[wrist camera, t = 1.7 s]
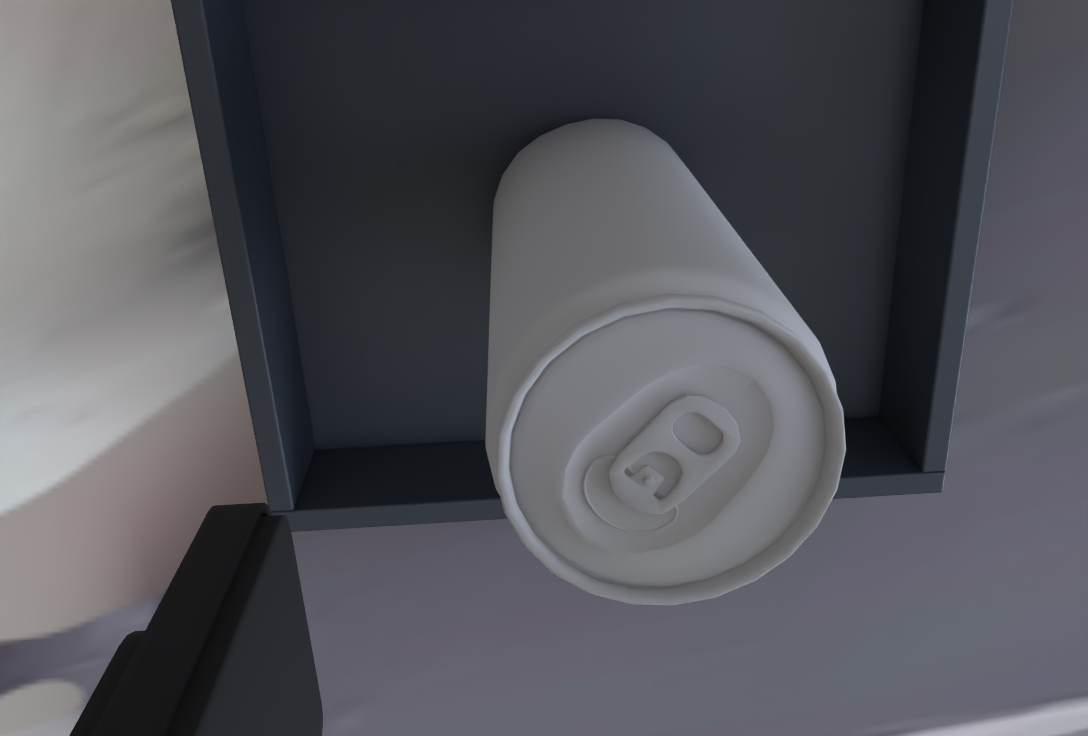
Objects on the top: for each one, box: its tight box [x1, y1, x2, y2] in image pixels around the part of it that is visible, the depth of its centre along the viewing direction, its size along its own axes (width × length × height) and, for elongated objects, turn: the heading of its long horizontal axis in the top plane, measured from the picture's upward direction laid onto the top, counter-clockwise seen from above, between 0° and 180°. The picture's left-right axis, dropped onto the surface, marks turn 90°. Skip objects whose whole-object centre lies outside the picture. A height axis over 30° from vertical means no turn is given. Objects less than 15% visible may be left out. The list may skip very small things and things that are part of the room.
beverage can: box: [485, 119, 846, 605], centre depth 18 cm, size 5×5×12 cm
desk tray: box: [171, 0, 1014, 532], centre depth 22 cm, size 13×16×3 cm
